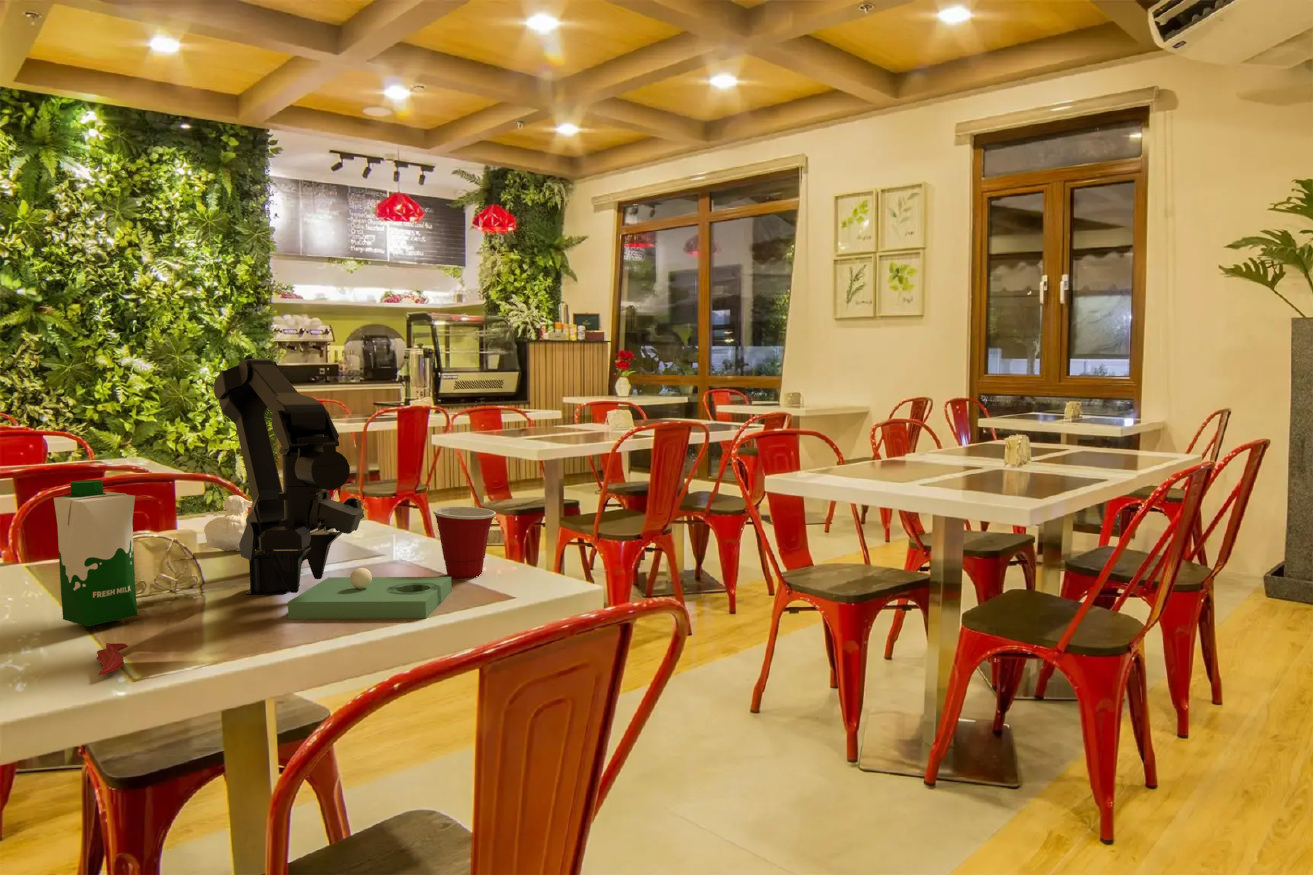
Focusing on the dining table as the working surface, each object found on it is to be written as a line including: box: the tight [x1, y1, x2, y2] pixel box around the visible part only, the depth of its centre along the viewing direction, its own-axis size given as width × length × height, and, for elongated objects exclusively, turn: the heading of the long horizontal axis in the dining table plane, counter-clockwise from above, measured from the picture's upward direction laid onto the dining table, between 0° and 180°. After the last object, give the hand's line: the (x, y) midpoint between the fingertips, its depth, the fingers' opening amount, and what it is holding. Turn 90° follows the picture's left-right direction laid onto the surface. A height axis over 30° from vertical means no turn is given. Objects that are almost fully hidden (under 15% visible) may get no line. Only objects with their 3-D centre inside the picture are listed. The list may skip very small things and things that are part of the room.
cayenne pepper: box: [96, 642, 129, 676], centre depth 112 cm, size 12×5×2 cm, turn 12°
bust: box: [203, 494, 253, 552], centre depth 181 cm, size 12×8×11 cm, turn 91°
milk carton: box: [53, 479, 138, 628], centre depth 130 cm, size 9×9×20 cm
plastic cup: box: [432, 506, 497, 580], centre depth 156 cm, size 11×11×12 cm
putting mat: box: [287, 576, 452, 620], centre depth 137 cm, size 20×16×2 cm
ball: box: [349, 567, 373, 589], centre depth 137 cm, size 3×3×3 cm
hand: (306, 585), depth 137 cm, fingers open, 9 cm apart
